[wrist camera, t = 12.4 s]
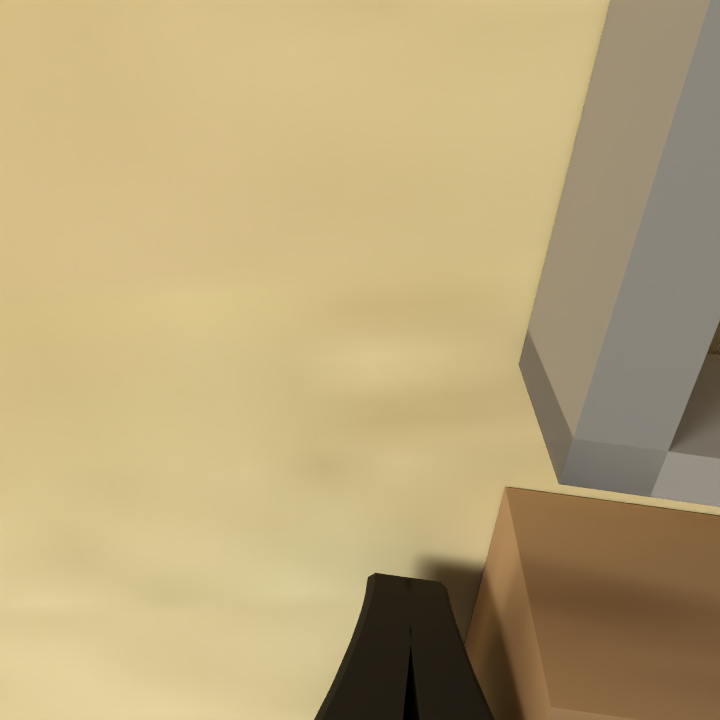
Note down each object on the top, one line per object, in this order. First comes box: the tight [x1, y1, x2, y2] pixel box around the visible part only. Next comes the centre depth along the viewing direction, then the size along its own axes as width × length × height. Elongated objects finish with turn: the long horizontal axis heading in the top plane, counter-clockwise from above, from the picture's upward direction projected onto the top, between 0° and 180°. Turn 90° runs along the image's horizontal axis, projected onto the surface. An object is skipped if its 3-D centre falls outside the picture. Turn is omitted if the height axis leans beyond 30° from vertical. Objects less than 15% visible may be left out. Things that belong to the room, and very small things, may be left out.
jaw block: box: [464, 487, 720, 720], centre depth 10 cm, size 4×4×4 cm
